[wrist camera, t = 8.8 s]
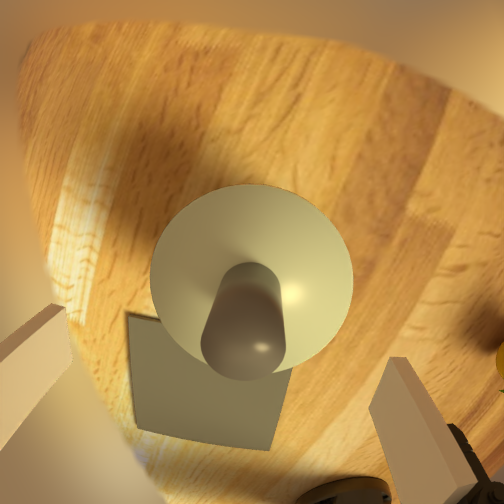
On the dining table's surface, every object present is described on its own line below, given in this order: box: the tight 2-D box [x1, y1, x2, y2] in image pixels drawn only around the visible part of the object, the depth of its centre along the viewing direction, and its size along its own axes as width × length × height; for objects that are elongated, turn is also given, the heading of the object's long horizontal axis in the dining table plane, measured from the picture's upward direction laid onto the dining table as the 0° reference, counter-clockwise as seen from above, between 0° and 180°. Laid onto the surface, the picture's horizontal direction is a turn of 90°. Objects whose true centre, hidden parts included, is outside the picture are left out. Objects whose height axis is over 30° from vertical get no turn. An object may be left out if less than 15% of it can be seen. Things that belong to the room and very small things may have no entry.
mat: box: [128, 314, 293, 451], centre depth 31 cm, size 16×16×1 cm
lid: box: [150, 184, 353, 381], centre depth 16 cm, size 12×12×7 cm
